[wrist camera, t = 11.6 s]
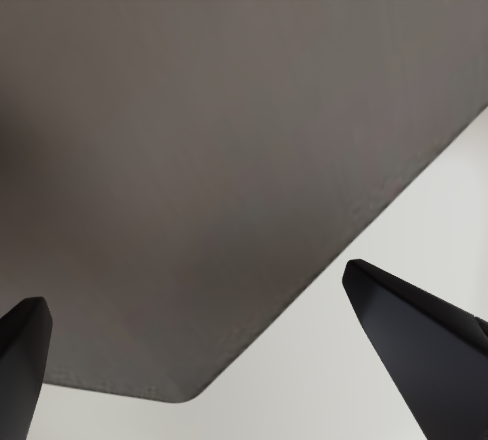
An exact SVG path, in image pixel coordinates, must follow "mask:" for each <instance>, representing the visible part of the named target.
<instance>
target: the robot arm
mask: <svg viewBox="0 0 488 440" xmlns="http://www.w3.org/2000/svg"><path fill="white" fill-rule="evenodd" d="M342 284H343V286H344V289H345V291H346V293H347V296H348V298H349V300H350V302H351V304H352V307H353V309H354V311H355V313H356V315H357V318H358V320H359V322H360V324H361V325H362V328H363V329H364V331H365V333H366V335H367V337H368V338H369V340H370V342H371V343H372V345H373V347H374V349H375V350H376V352H377V354H378V355H379V357H380V359H381V361H382V362H383V364H384V366H385V367H386V369H387V371H388V372H389V374H390V376H391V378H392V380H393V381H394V383H395V385H396V386H397V388H398V390H399V392H400V393H401V395H402V397H403V398H404V400H405V402H406V404H407V405H408V407H409V409H410V410H411V412H412V414H413V416H414V417H415V419H416V421H417V422H418V424H419V426H420V428H421V430H422V431H423V433H424V435H425V437H426V438H427V440H488V322H486V321H484V320H482V319H480V318H479V317H474V315H472V314H470V313H468V312H466V311H464V310H462V309H460V308H458V307H456V306H454V305H452V304H450V303H448V302H446V301H444V300H442V299H440V298H438V297H436V296H434V295H432V294H430V293H428V292H426V291H424V290H422V289H420V288H418V287H416V286H414V285H412V284H410V283H408V282H406V281H404V280H402V279H400V278H398V277H396V276H394V275H392V274H390V273H388V272H386V271H384V270H382V269H380V268H378V267H376V266H374V265H372V264H370V263H368V262H366V261H364V260H362V259H354V260H349V261H348V262H347V265H346V268H345V271H344V274H343V278H342ZM52 325H53V322H52V317H51V314H50V311H49V308H48V306H47V303H46V300H45V299H44V298H43V297H31V298H25V299H23V300H22V301H21V302H19V303H18V304H17V305H16V306H15V307H14V308H12V309H11V310H10V311H9V312H8V313H6V314H5V315H4V316H3V317H2V318H1V319H0V440H26V438H27V434H28V431H29V428H30V424H31V421H32V418H33V414H34V411H35V407H36V404H37V401H38V397H39V394H40V390H41V387H42V383H43V378H44V372H45V367H46V361H47V355H48V349H49V343H50V338H51V332H52Z"/></svg>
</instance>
